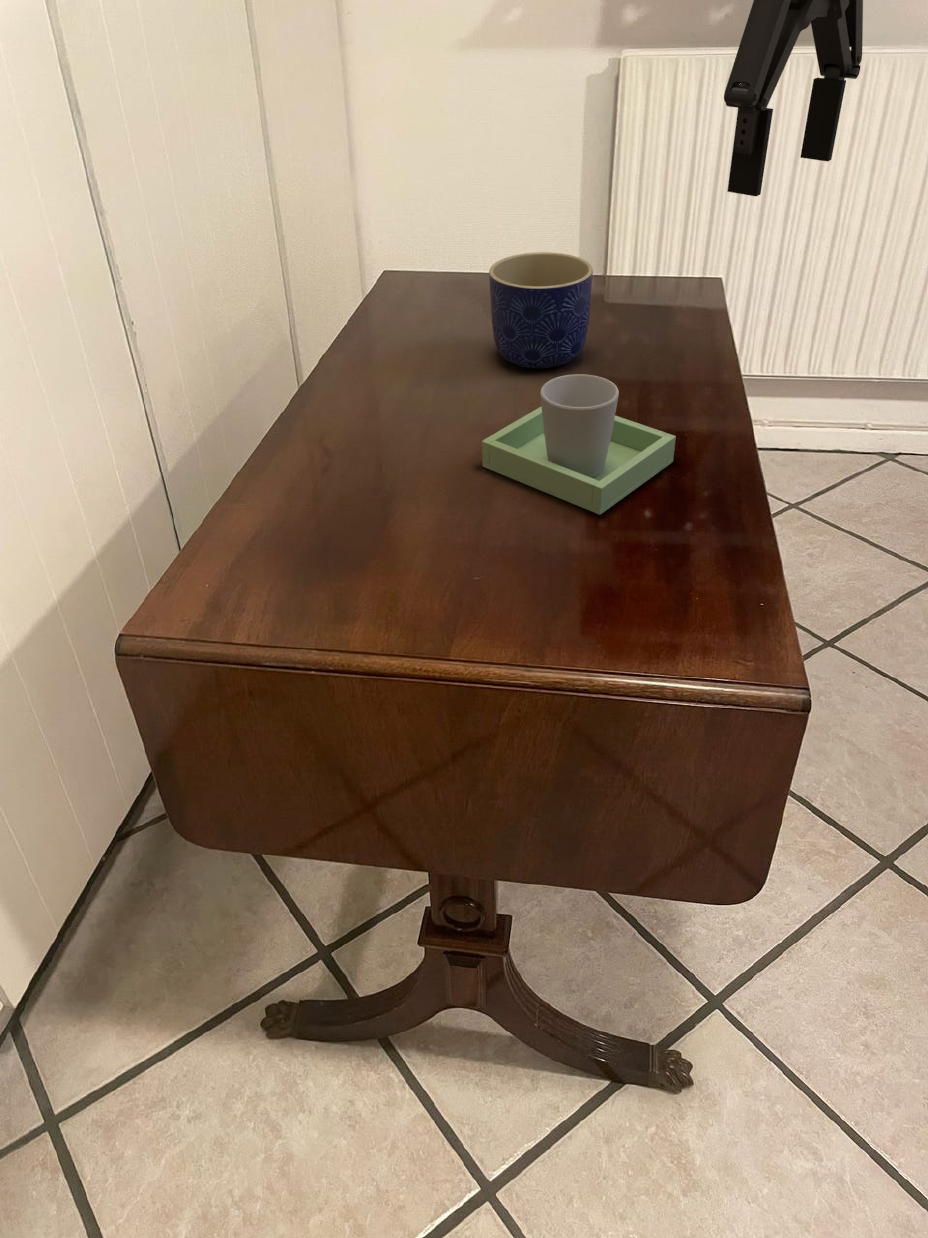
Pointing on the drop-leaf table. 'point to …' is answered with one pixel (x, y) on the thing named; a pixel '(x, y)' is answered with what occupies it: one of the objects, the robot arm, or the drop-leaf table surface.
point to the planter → (540, 307)
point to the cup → (578, 421)
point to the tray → (625, 469)
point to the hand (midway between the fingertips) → (781, 175)
